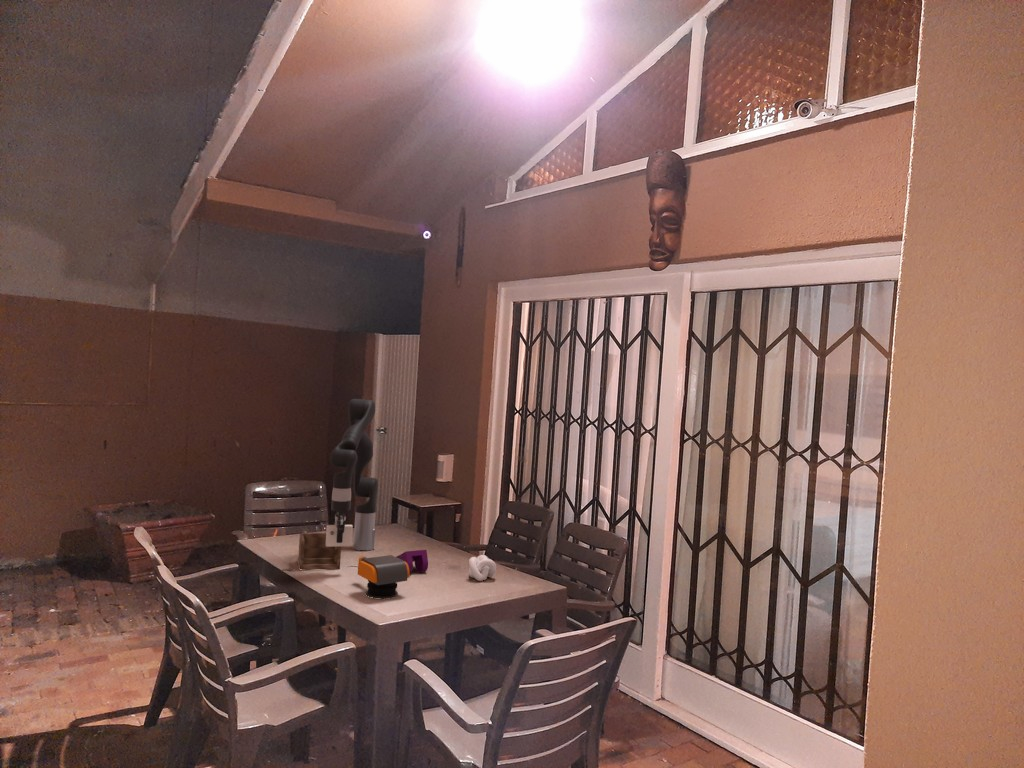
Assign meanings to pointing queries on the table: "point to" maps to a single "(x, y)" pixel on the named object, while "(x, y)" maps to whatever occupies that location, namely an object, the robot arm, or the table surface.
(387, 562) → the sander
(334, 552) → the cabinet
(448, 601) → the table surface
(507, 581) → the table surface
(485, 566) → the white knot
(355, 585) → the table surface
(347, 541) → the door
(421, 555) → the mounting bracket
